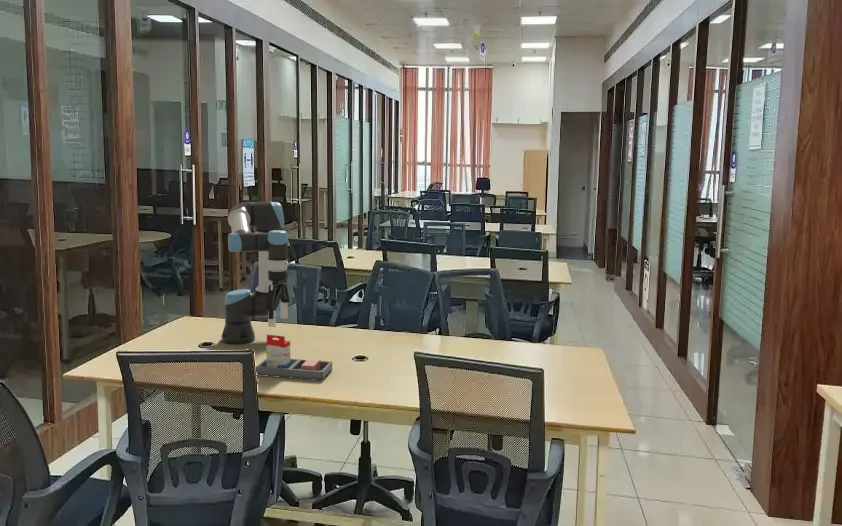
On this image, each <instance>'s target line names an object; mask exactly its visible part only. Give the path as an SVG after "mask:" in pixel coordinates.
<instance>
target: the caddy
mask: <svg viewBox="0 0 842 526" xmlns="http://www.w3.org/2000/svg"><path fill="white" fill-rule="evenodd" d="M307 360H308V359H301V358H300V359H299V358H290V362H291V366H290V367H289V368H288V369H285V368H272V367H267V358H265V359H264V360H263V361H262V362H260V363H259V364H257V365H256V366H255V373H256V372H257V374H258V375H268V376H267V377H269V376H279V377H278V378H282V377H292V378H291V379H295V378H302V379H301V380H308V379H315V380H314V381H321V380H323V379H324V380H325V379H326V377H327V376H328V375H329V374H330V373H331V372H332V371H333V361H327V360H325V361H324V360H320V370H319V371H312V370H301V365H302V364H303V363H304V362H305V361H307ZM324 380H323V381H324Z"/></svg>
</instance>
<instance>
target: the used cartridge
mask: <svg viewBox="0 0 842 526" xmlns="http://www.w3.org/2000/svg"><path fill="white" fill-rule="evenodd" d="M306 360H307V361H305V362H304V363H303V364H302V365H301V370H312V371H319V370H320V361H321V359H317V358H307V359H306Z"/></svg>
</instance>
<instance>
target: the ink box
mask: <svg viewBox="0 0 842 526" xmlns="http://www.w3.org/2000/svg"><path fill="white" fill-rule="evenodd" d="M265 346H266V347H265V349H266V359H267V367H272V368H285V369H288V368H289V367H290V366H291V362H290V359H291V340H286V337H285V336H283V335H274V334H266V343H265Z"/></svg>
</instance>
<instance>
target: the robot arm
mask: <svg viewBox="0 0 842 526" xmlns="http://www.w3.org/2000/svg"><path fill="white" fill-rule="evenodd" d="M283 210H284V209H283V206H282V204H281V203H280V202H277V201H244V202H240V203H239V204H238V203H237V204H236V205H235V206H233V207H232V208H231V209H230V211H229V212H228V214H227V221H228V225H229V226H230V227H231V232H230V233H229V234H228V235H227V245H228V247H227V248H228V251H229V252H233V253H234V252H235V253H236V252H237V253H247V252H249V253H251V252H253V253H254V252H258V285H257V287H256V288H255V292H254V291H253V292H252V291H251V289H249V288H241V289H236V290H231V291H228V292H227V293H226V294H225V296H224V303H223V304H224V323H225V324H224V327H223V331H222V333H221V342H222V343H225V344H229V343H230V345H231V344H232V345H239V344H241V345H242V344H249V343H252V342H254V341H255V340H256V334H255V330H254V328H253V325H252V318H267V327H269V328H275V327H276V320H277V319H276V317H280V319H288V303H290V301H291V300H290V294H289V293H290V292H289V289H288V273H289V272H288V270H287V269H288V265H289V264H290V263H289V261H288V245H289V244H288V241H289V239H288V232H287V231H286V230H282V228H285V217H284V211H283ZM251 228H252V229H253V228H254V232H252V231H251Z"/></svg>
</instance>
